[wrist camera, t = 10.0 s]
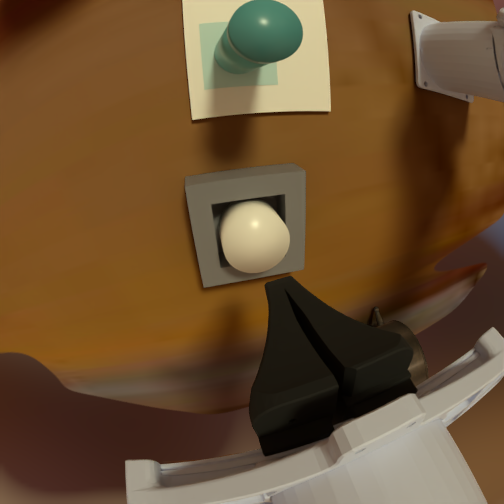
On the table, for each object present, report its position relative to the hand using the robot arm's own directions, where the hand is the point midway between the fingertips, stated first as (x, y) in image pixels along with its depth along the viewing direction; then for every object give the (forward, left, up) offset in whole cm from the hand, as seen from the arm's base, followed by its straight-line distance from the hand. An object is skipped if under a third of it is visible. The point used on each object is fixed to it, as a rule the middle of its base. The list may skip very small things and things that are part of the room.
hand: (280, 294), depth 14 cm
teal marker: (-1, -13, -9) cm, 15 cm away
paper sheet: (-2, -15, -9) cm, 18 cm away
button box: (0, 0, -9) cm, 9 cm away
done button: (0, 0, -8) cm, 8 cm away
